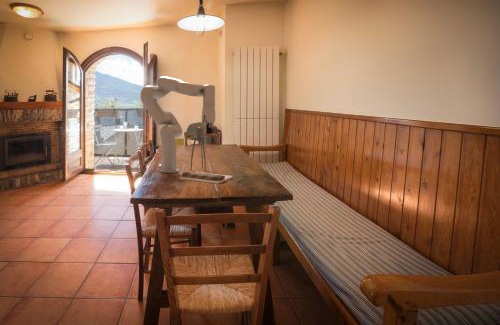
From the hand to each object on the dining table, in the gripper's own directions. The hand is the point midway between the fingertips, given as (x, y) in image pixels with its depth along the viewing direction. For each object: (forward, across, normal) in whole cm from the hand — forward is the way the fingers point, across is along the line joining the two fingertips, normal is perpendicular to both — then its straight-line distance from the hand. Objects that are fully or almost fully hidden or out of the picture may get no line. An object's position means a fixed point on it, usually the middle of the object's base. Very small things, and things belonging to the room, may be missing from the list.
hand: (209, 133), depth 237 cm
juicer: (+27, -15, -16) cm, 35 cm away
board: (+27, +9, +4) cm, 29 cm away
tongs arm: (+26, +12, +6) cm, 29 cm away
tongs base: (+26, +15, +4) cm, 30 cm away
